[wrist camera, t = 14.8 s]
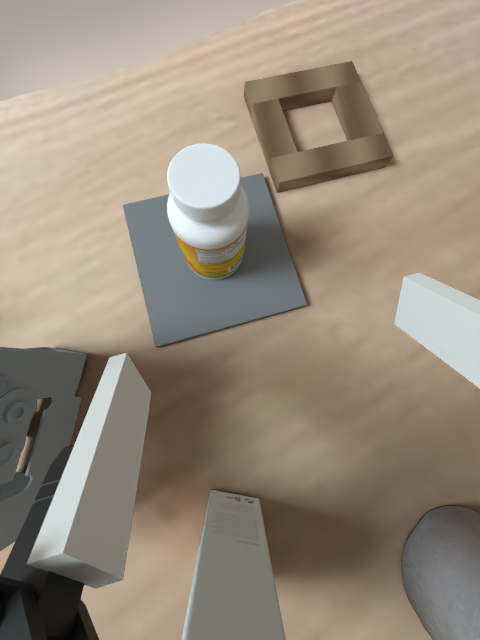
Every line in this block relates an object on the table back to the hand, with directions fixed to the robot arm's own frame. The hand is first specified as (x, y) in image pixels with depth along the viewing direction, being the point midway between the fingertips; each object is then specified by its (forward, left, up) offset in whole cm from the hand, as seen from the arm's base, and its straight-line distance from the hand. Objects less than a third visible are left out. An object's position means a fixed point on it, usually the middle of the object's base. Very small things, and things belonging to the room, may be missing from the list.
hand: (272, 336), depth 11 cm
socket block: (-13, -20, -10) cm, 26 cm away
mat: (+1, -9, -10) cm, 14 cm away
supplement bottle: (+1, -9, -10) cm, 14 cm away
